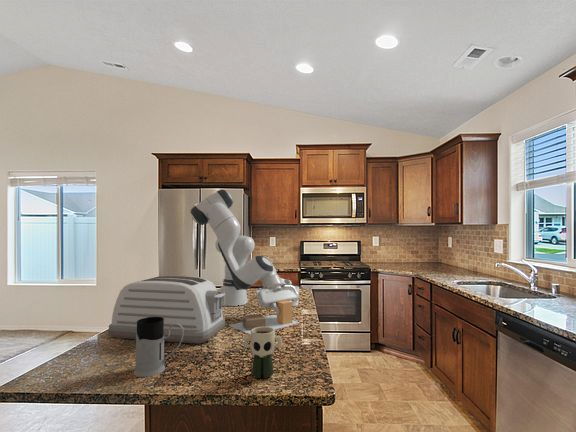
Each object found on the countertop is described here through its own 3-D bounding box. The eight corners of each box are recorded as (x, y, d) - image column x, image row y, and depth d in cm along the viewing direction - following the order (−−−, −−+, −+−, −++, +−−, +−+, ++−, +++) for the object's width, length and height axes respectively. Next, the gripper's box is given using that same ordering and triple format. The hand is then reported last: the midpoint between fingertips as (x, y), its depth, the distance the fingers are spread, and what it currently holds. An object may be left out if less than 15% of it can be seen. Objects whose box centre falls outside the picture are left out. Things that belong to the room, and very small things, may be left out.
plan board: (228, 327, 139) (228, 325, 139) (274, 316, 157) (274, 314, 157) (253, 338, 126) (253, 335, 126) (300, 324, 143) (300, 322, 143)
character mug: (242, 381, 90) (242, 334, 91) (245, 370, 97) (245, 326, 98) (281, 380, 90) (281, 333, 91) (281, 369, 97) (281, 326, 98)
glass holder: (140, 364, 101) (141, 316, 102) (186, 363, 102) (187, 315, 103) (128, 377, 93) (129, 324, 93) (179, 375, 94) (179, 323, 94)
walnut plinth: (242, 325, 140) (242, 315, 140) (260, 323, 142) (260, 314, 143) (246, 330, 132) (246, 320, 132) (265, 328, 135) (265, 318, 135)
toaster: (209, 346, 117) (210, 284, 118) (103, 338, 126) (104, 281, 127) (232, 328, 139) (233, 275, 140) (141, 322, 148) (141, 273, 149)
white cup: (293, 307, 176) (293, 288, 176) (282, 305, 180) (282, 287, 181) (302, 304, 182) (301, 286, 182) (290, 302, 187) (290, 285, 187)
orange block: (276, 321, 144) (276, 301, 145) (286, 319, 147) (286, 300, 148) (283, 324, 140) (283, 303, 141) (292, 322, 143) (292, 302, 144)
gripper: (256, 284, 144) (268, 311, 136) (293, 280, 156) (306, 304, 148) (251, 292, 148) (262, 319, 139) (288, 288, 159) (300, 312, 151)
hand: (285, 311), depth 143 cm, fingers closed on orange block, 5 cm apart
